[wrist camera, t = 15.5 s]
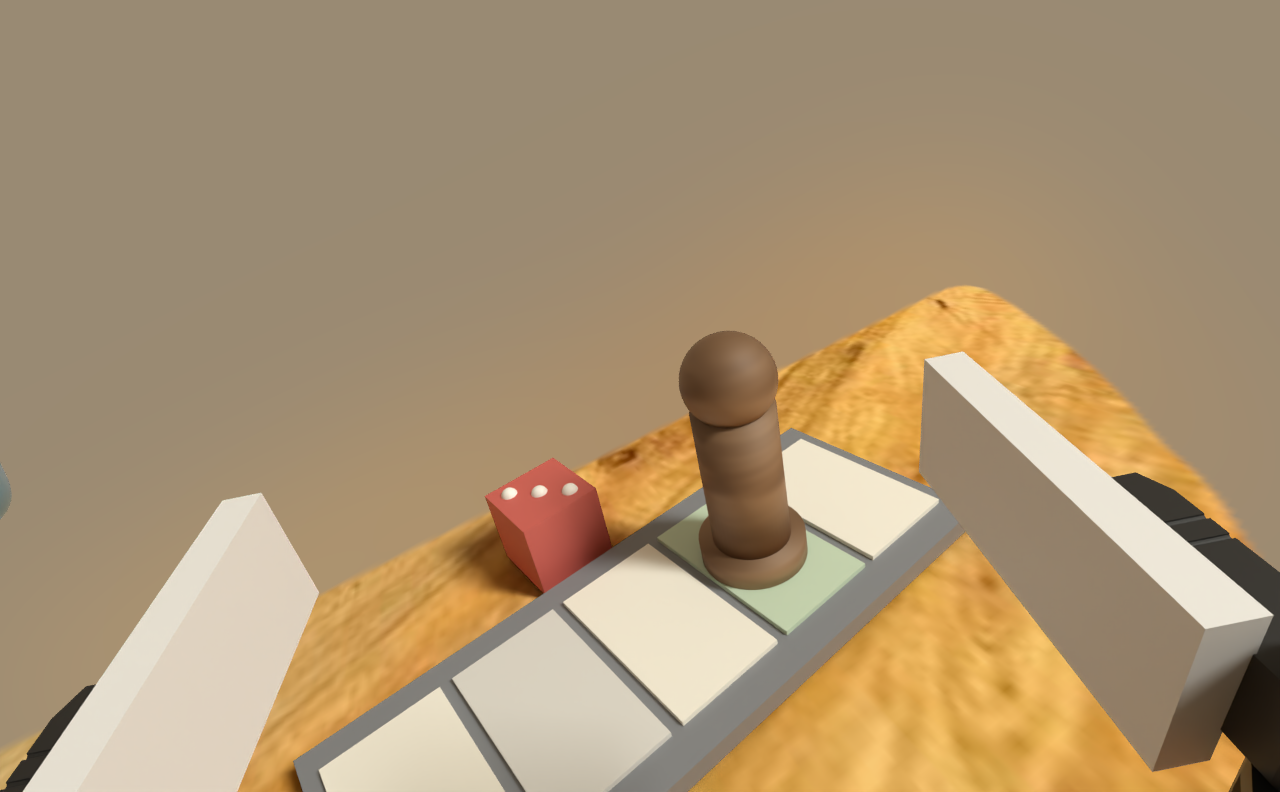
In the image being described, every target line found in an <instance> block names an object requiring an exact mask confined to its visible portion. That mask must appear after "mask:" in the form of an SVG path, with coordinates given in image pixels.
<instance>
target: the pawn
mask: <svg viewBox="0 0 1280 792" xmlns="http://www.w3.org/2000/svg"><path fill="white" fill-rule="evenodd" d="M777 388H778V373H777V367H776V364H775V361H774V360H773V358H772V356H771V354H770V352H769V351H768V350H767V349H766V347H765V346H764V345H763V344H762V343H761V342H759V341H758V340H756V339H755V338H753V337H752V336H749V335H747V334H745V333H741V332H736V331H721V332H716V333H713V334H710V335H708V336H706V337H704V338H702V339H701V340H699V341H698V342H697V343H695V345H694V346H692V347H691V349H690V350H689V351H688V353H687V354H686V356H685V358H684V359H683V362H682V365H681V368H680V373H679V389H680V393H681V396H682V399H683V401H684V403H685V405H686V406H687V408H688V410H689V416H690V421H691V427H692V432H693V437H694V442H695V448H696V453H697V458H698V463H699V469H700V474H701V479H702V484H703V490H704V495H705V500H706V505H707V511H708V517H707V518H706V519H705V520H704V522H703V523H702V525H701V527H700V530H699V544H700V549H701V554H702V559H703V563H704V566H705V568H706V569H707V571H708V572H709V573H710V575H711V576H712V577H714V578H715V579H716V580H718V581H719V582H721V583H723V584H725V585H727V586H730V587H733V588H738V589H744V590H759V589H766V588H770V587H774V586H777V585H779V584H782V583H784V582H786V581H787V580H789V579H790V578H792V577H793V576H795V575H796V574H797V573H798V572H799V571H800V569H801V568H802V567H803V565H804V563H805V561H806V558H807V554H808V546H807V537H806V528H805V524H804V521H803V519H802V518H801V516H800V515H799V514H798V513H797V512H796V511H795V510H794V509H793V508H791V507H790V506H788V500H787V492H786V483H785V474H784V466H783V457H782V448H781V439H780V431H779V422H778V413H777V405H776V400H775V396H776V392H777Z"/></svg>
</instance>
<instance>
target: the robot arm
mask: <svg viewBox="0 0 1280 792" xmlns="http://www.w3.org/2000/svg"><path fill="white" fill-rule="evenodd" d="M919 472H920V473H921V475H922V476H923V477H924V479H925V480H926V481H927V482H928V484H929V485H930V486H931V488H932V489H933V490H934V491H935V493H936V494H937V495H938V497H939V498H940V499H941V500H942V502H943V503H944V504H945V506H946V507H947V508H948V509H949V511H950V512H951V513H952V515H953V516H954V517H955V518H956V520H957V521H958V522H959V524H960V525H961V526H962V528H963V529H964V530H965V531H966V533H967V534H968V535H969V537H970V538H971V539H972V540H973V542H974V543H975V544H976V546H977V547H978V548H979V549H980V551H981V552H982V553H983V555H984V556H985V557H986V558H987V560H988V561H989V562H990V564H991V565H992V566H993V567H994V569H995V570H996V571H997V573H998V574H999V575H1000V576H1001V578H1002V579H1003V580H1004V582H1005V583H1006V584H1007V585H1008V587H1009V588H1010V589H1011V591H1012V592H1013V593H1014V594H1015V596H1016V597H1017V598H1018V600H1019V601H1020V602H1021V603H1022V605H1023V606H1024V607H1025V609H1026V610H1027V611H1028V612H1029V614H1030V615H1031V616H1032V618H1033V619H1034V620H1035V621H1036V623H1037V624H1038V625H1039V627H1040V628H1041V629H1042V630H1043V632H1044V633H1045V634H1046V636H1047V637H1048V638H1049V639H1050V641H1051V642H1052V643H1053V645H1054V646H1055V647H1056V648H1057V650H1058V651H1059V652H1060V654H1061V655H1062V656H1063V657H1064V659H1065V660H1066V661H1067V663H1068V664H1069V665H1070V666H1071V668H1072V669H1073V670H1074V672H1075V673H1076V674H1077V675H1078V677H1079V678H1080V679H1081V681H1082V682H1083V683H1084V684H1085V686H1086V687H1087V688H1088V690H1089V691H1090V692H1091V693H1092V695H1093V696H1094V697H1095V699H1096V700H1097V701H1098V702H1099V704H1100V705H1101V706H1102V708H1103V709H1104V710H1105V711H1106V713H1107V714H1108V715H1109V717H1110V718H1111V719H1112V720H1113V722H1114V723H1115V724H1116V726H1117V727H1118V728H1119V730H1120V731H1121V732H1122V733H1123V735H1124V736H1125V737H1126V739H1127V740H1128V741H1129V742H1130V744H1131V745H1132V746H1133V748H1134V749H1135V750H1136V751H1137V753H1138V754H1139V755H1140V757H1141V758H1142V759H1143V760H1144V762H1145V763H1146V764H1147V766H1148V767H1149V768H1150V769H1151V771H1152V772H1154V771H1159V770H1164V769H1169V768H1174V767H1179V766H1183V765H1188V764H1193V763H1198V762H1203V761H1208V760H1210V759H1211V756H1212V754H1213V752H1214V750H1215V747H1216V745H1217V743H1218V740H1219V738H1220V736H1221V734H1222V732H1223V733H1224V734H1225V735H1226V736H1227V737H1228V738H1229V739H1230V740H1231V741H1232V743H1233V744H1234V745H1235V746H1236V747H1237V748H1238V749H1239V750H1240V751H1241V752H1242V753H1243V755H1244V756H1245V759H1244V761H1243V763H1242V765H1241V767H1240V769H1239V772H1238V774H1237V776H1236V778H1235V780H1234V782H1233V784H1232V786H1231V788H1230V790H1229V792H1280V572H1278V571H1277V570H1276V569H1275V568H1273V567H1272V566H1271V565H1269V564H1268V563H1267V562H1266V561H1264V560H1263V559H1262V558H1261V557H1259V556H1258V555H1257V554H1255V553H1254V552H1253V551H1252V550H1250V549H1249V548H1248V547H1246V546H1245V545H1244V544H1243V543H1241V542H1240V541H1239V540H1238V539H1236V538H1233V539H1232V538H1231V537H1230V536H1229V532H1227V531H1226V530H1225V529H1223V528H1222V527H1221V526H1220V525H1218V524H1217V523H1216V522H1215V521H1213V520H1212V519H1211V518H1209V519H1206V518H1205V516H1204V513H1203V512H1202V511H1200V510H1199V509H1198V508H1197V507H1195V506H1194V505H1193V504H1192V503H1190V502H1189V501H1188V500H1186V499H1185V498H1184V497H1183V496H1181V495H1180V494H1179V493H1177V492H1176V491H1175V490H1173V489H1171V488H1169V487H1167V486H1164V485H1162V484H1160V483H1158V482H1156V481H1153V480H1151V479H1149V478H1147V477H1145V476H1142V475H1140V474H1138V473H1131V474H1126V475H1121V476H1116V477H1110V476H1109V475H1108V474H1107V473H1105V472H1104V471H1103V470H1102V469H1101V468H1100V467H1098V466H1097V465H1096V464H1095V463H1094V462H1093V461H1091V460H1090V459H1089V458H1088V457H1087V456H1085V455H1084V454H1083V453H1082V452H1081V451H1080V450H1078V449H1077V448H1076V447H1075V446H1074V445H1073V444H1071V443H1070V442H1069V441H1068V440H1067V439H1065V438H1064V437H1063V436H1062V435H1061V434H1060V433H1058V432H1057V431H1056V430H1055V429H1054V428H1052V427H1051V426H1050V425H1049V424H1048V423H1047V422H1045V421H1044V420H1043V419H1042V418H1041V417H1040V416H1038V415H1037V414H1036V413H1035V412H1034V411H1032V410H1031V409H1030V408H1029V407H1028V406H1027V405H1025V404H1024V403H1023V402H1022V401H1021V400H1019V399H1018V398H1017V397H1016V396H1015V395H1014V394H1012V393H1011V392H1010V391H1009V390H1008V389H1007V388H1005V387H1004V386H1003V385H1002V384H1001V383H999V382H998V381H997V380H996V379H995V378H994V377H992V376H991V375H990V374H989V373H988V372H986V371H985V370H984V369H983V368H982V367H981V366H979V365H978V364H977V363H976V362H975V361H974V360H972V359H971V358H970V357H969V356H968V355H966V354H965V353H964V352H959V353H954V354H949V355H944V356H939V357H934V358H929V359H925V361H924V382H923V402H922V423H921V443H920V464H919ZM10 502H11V488H10V484H9V481H8V479H7V477H6V474H5V472H4V470H3V468H2V466H1V464H0V519H1V518H2V517H3V516H4V514H5V513H6V511H7V510H8V507H9V505H10ZM318 594H319V592H318V590H317V588H316V586H315V585H314V583H313V581H312V579H311V578H310V576H309V574H308V573H307V571H306V569H305V568H304V566H303V564H302V562H301V560H300V559H299V557H298V555H297V554H296V552H295V550H294V549H293V547H292V545H291V543H290V542H289V540H288V538H287V536H286V535H285V533H284V531H283V530H282V528H281V526H280V524H279V523H278V521H277V519H276V517H275V516H274V514H273V512H272V510H271V509H270V507H269V505H268V504H267V502H266V500H265V498H264V497H263V495H262V493H258V494H253V495H248V496H243V497H238V498H234V499H228V500H223V501H222V502H221V503H220V505H219V506H218V508H217V509H216V511H215V512H214V514H213V515H212V517H211V518H210V520H209V521H208V522H207V524H206V525H205V527H204V528H203V530H202V531H201V533H200V534H199V536H198V537H197V538H196V540H195V541H194V543H193V544H192V546H191V547H190V549H189V550H188V552H187V553H186V554H185V556H184V557H183V559H182V560H181V562H180V563H179V565H178V566H177V568H176V569H175V571H174V572H173V573H172V575H171V576H170V578H169V579H168V581H167V582H166V584H165V585H164V587H163V588H162V590H161V591H160V592H159V594H158V595H157V597H156V598H155V600H154V601H153V603H152V604H151V606H150V607H149V608H148V610H147V611H146V613H145V614H144V616H143V617H142V619H141V620H140V621H139V623H138V624H137V626H136V627H135V629H134V630H133V632H132V633H131V635H130V636H129V638H128V639H127V640H126V642H125V644H124V645H123V646H122V648H121V649H120V651H119V652H118V654H117V655H116V657H115V658H114V660H113V661H112V662H111V664H110V665H109V667H108V668H107V670H106V671H105V672H104V674H103V675H102V677H101V678H100V680H99V681H98V683H97V684H96V685H91V686H86V687H85V688H84V689H83V690H82V691H81V692H80V693H78V695H76V696H75V697H74V698H73V699H72V700H71V701H70V702H69V703H68V704H67V705H66V706H65V707H64V708H63V709H62V710H60V711H59V712H58V713H57V714H56V715H55V716H54V717H53V718H52V719H51V720H50V722H49V723H48V725H47V726H46V727H45V729H44V730H43V732H42V733H41V734H40V736H39V737H38V739H37V740H36V741H35V743H34V744H33V746H32V747H31V748H30V750H29V751H28V753H27V759H26V760H22V761H21V762H20V764H19V765H18V766H17V768H16V769H15V771H14V772H13V773H12V775H11V776H10V778H9V779H8V780H7V782H6V784H7V787H6V789H4V790H0V792H237V791H238V788H239V786H240V783H241V781H242V779H243V776H244V774H245V771H246V769H247V766H248V764H249V762H250V759H251V757H252V754H253V752H254V749H255V747H256V745H257V742H258V740H259V737H260V735H261V733H262V730H263V728H264V725H265V723H266V720H267V718H268V716H269V713H270V711H271V708H272V706H273V703H274V701H275V699H276V696H277V694H278V691H279V689H280V686H281V684H282V682H283V679H284V677H285V674H286V672H287V669H288V667H289V665H290V662H291V660H292V657H293V655H294V652H295V650H296V648H297V645H298V643H299V640H300V638H301V636H302V633H303V631H304V628H305V626H306V623H307V621H308V619H309V616H310V614H311V611H312V609H313V606H314V604H315V602H316V599H317V597H318Z"/></svg>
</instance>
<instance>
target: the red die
mask: <svg viewBox="0 0 1280 792" xmlns="http://www.w3.org/2000/svg"><path fill="white" fill-rule="evenodd" d="M485 498H486V501H487V503H488V506H489V509H490V511H491V514H492V517H493V519H494V522H495V525H496V527H497V530H498V533H499V535H500V538H501V541H502V543H503V546H504V548H505V551H506V554H507V556H508V557H509V558H510V560H511V561H512V562H513V563H514V564H515V565H516V566H517V567H518V568H519V569H520V570H521V571H522V572H523V573H524V574H525V575H526V576H527V577H528V578H529V579H530V580H531V581H532V582H533V583H534V584H535V585H536V586H537V587H538V588H539V589H540V590H541V591H542V592H543V593H545V592H547V591H548V590H550V589H551V588H553V587H554V586H556V585H557V584H559V583H560V582H562V581H563V580H565V579H566V578H568V577H569V576H571V575H572V574H574V573H575V572H577V571H578V570H580V569H581V568H583V567H584V566H586V565H587V564H589V563H590V562H592V561H593V560H595V559H596V558H598V557H599V556H601V555H602V554H604V553H605V552H607V551H608V550H610V549H611V548H612V546H611V542H610V538H609V535H608V531H607V527H606V524H605V520H604V516H603V513H602V509H601V506H600V502H599V498H598V495H597V491H596V488H595V487H593V486H592V485H590V484H589V483H588V482H586V481H585V480H583V479H582V478H581V477H579V476H578V475H576V474H575V473H574V472H572V471H571V470H569V469H568V468H567V467H565V466H564V465H562V464H561V463H560V462H558V461H557V460H555V459H554V458H552V459H550V460H548V461H546V462H545V463H543V464H541V465H539V466H538V467H536V468H534V469H532V470H530V471H529V472H527V473H525V474H523V475H521V476H520V477H518V478H516V479H515V480H513V481H511V482H509V483H507V484H506V485H504V486H502V487H500V488H498V489H497V490H495V491H493V492H491V493H490V494H488V495H486V496H485Z"/></svg>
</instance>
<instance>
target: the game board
mask: <svg viewBox="0 0 1280 792" xmlns="http://www.w3.org/2000/svg"><path fill="white" fill-rule="evenodd" d="M780 439H781V448H782V457H783V466H784V474H785V483H786V492H787V500H788V506H790V507H791V508H793V509H794V510H795V511H796V512H797V513H798V514H799V515H800V516H801V518H802V519H803V521H804V524H805V528H806V537H807V546H808V554H807V558H806V561H805V563H804V565H803V567H802V568H801V569H800V571H799V572H798V573H797V574H796V575H795V576H793V577H792V578H790V579H789V580H787V581H786V582H784V583H782V584H779V585H777V586H774V587H770V588H766V589H759V590H744V589H738V588H733V587H730V586H727V585H725V584H723V583H721V582H719V581H718V580H716V579H715V578H714V577H712V576H711V575H710V573H709V572H708V571H707V569H706V568H705V566H704V563H703V559H702V554H701V549H700V544H699V530H700V527H701V525H702V523H703V522H704V520H705V519H706V518H707V517H708V511H707V505H706V500H705V495H704V490H703V487H702V488H701V489H699V490H698V491H696V492H695V493H693V494H692V495H690V496H689V497H687V498H686V499H684V500H683V501H681V502H680V503H678V504H677V505H675V506H674V507H672V508H671V509H669V510H668V511H666V512H665V513H663V514H662V515H660V516H659V517H657V518H656V519H654V520H653V521H651V522H650V523H649V524H647V525H646V526H644V527H643V528H641V529H640V530H638V531H637V532H635V533H634V534H632V535H631V536H629V537H628V538H626V539H625V540H623V541H622V542H620V543H619V544H617V545H616V546H614V547H613V548H611V549H610V550H608V551H607V552H605V553H604V554H602V555H601V556H599V557H598V558H596V559H595V560H593V561H592V562H590V563H589V564H587V565H586V566H584V567H583V568H581V569H580V570H578V571H577V572H575V573H574V574H572V575H571V576H569V577H568V578H566V579H565V580H563V581H562V582H560V583H559V584H557V585H556V586H554V587H553V588H551V589H550V590H548V591H547V592H545V593H544V594H542V595H541V596H539V597H538V598H536V599H535V600H533V601H532V602H530V603H529V604H527V605H526V606H524V607H523V608H521V609H520V610H518V611H517V612H515V613H514V614H512V615H511V616H509V617H508V618H506V619H505V620H504V621H502V622H501V623H499V624H498V625H496V626H495V627H493V628H492V629H490V630H489V631H487V632H486V633H484V634H483V635H481V636H480V637H478V638H477V639H475V640H474V641H472V642H471V643H469V644H468V645H466V646H465V647H463V648H462V649H460V650H459V651H457V652H456V653H454V654H453V655H451V656H450V657H448V658H447V659H445V660H444V661H442V662H441V663H439V664H438V665H436V666H435V667H433V668H432V669H430V670H429V671H427V672H426V673H424V674H423V675H421V676H420V677H418V678H417V679H415V680H414V681H412V682H411V683H409V684H408V685H406V686H405V687H403V688H402V689H400V690H399V691H397V692H396V693H394V694H393V695H391V696H390V697H388V698H387V699H385V700H384V701H382V702H381V703H379V704H378V705H376V706H375V707H373V708H372V709H370V710H369V711H367V712H366V713H364V714H363V715H362V716H360V717H359V718H357V719H356V720H354V721H353V722H351V723H350V724H348V725H347V726H345V727H344V728H342V729H341V730H339V731H338V732H336V733H335V734H333V735H332V736H330V737H329V738H327V739H326V740H324V741H323V742H321V743H320V744H318V745H317V746H315V747H314V748H312V749H311V750H309V751H308V752H306V753H305V754H303V755H302V756H300V757H299V758H297V759H296V760H294V761H293V762H294V765H295V768H296V771H297V775H298V778H299V781H300V784H301V787H302V790H303V792H688V791H689V790H690V789H691V788H692V787H693V786H694V785H695V784H696V783H697V782H698V781H699V780H701V779H702V778H703V777H704V776H705V775H706V774H707V773H708V772H709V771H710V770H711V769H712V768H713V767H714V766H715V765H717V764H718V763H719V762H720V761H721V760H722V759H723V758H724V757H725V756H726V755H727V754H728V753H729V752H730V751H731V750H733V749H734V748H735V747H736V746H737V745H738V744H739V743H740V742H741V741H742V740H743V739H744V738H745V737H746V736H747V735H749V734H750V733H751V732H752V731H753V730H754V729H755V728H756V727H757V726H758V725H759V724H760V723H761V722H762V721H764V720H765V719H766V718H767V717H768V716H769V715H770V714H771V713H772V712H773V711H774V710H775V709H776V708H777V707H778V706H780V705H781V704H782V703H783V702H784V701H785V700H786V699H787V698H788V697H789V696H790V695H791V694H792V693H793V692H794V691H796V690H797V689H798V688H799V687H800V686H801V685H802V684H803V683H804V682H805V681H806V680H807V679H808V678H809V677H810V676H812V675H813V674H814V673H815V672H816V671H817V670H818V669H819V668H820V667H821V666H822V665H823V664H824V663H825V662H826V661H828V660H829V659H830V658H831V657H832V656H833V655H834V654H835V653H836V652H837V651H838V650H839V649H840V648H841V647H843V646H844V645H845V644H846V643H847V642H848V641H849V640H850V639H851V638H852V637H853V636H854V635H855V634H856V633H857V632H859V631H860V630H861V629H862V628H863V627H864V626H865V625H866V624H867V623H868V622H869V621H870V620H871V619H872V618H873V617H875V616H876V615H877V614H878V613H879V612H880V611H881V610H882V609H883V608H884V607H885V606H886V605H887V604H888V603H889V602H891V601H892V600H893V599H894V598H895V597H896V596H897V595H898V594H899V593H900V592H901V591H902V590H903V589H904V588H906V587H907V586H908V585H909V584H910V583H911V582H912V581H913V580H914V579H915V578H916V577H917V576H918V575H919V574H920V573H922V572H923V571H924V570H925V569H926V568H927V567H928V566H929V565H930V564H931V563H932V562H933V561H934V560H935V559H936V558H938V557H939V556H940V555H941V554H942V553H943V552H944V551H945V550H946V549H947V548H948V547H949V546H950V545H951V544H952V543H954V542H955V541H956V540H957V539H958V538H959V537H960V536H961V535H962V534H963V533H964V532H965V530H964V529H963V528H962V526H961V525H960V524H959V522H958V521H957V520H956V518H955V517H954V516H953V515H952V513H951V512H950V511H949V509H948V508H947V507H946V506H945V504H944V503H943V502H942V500H941V499H940V498H939V497H938V495H937V494H936V493H935V491H934V490H933V489H932V488H930V487H927V486H925V485H923V484H920V483H918V482H916V481H913V480H911V479H909V478H906V477H904V476H902V475H899V474H897V473H895V472H892V471H890V470H888V469H885V468H883V467H881V466H878V465H876V464H874V463H871V462H869V461H867V460H864V459H862V458H860V457H857V456H855V455H853V454H851V453H848V452H846V451H844V450H841V449H839V448H837V447H834V446H832V445H830V444H827V443H825V442H823V441H820V440H818V439H816V438H813V437H811V436H809V435H806V434H804V433H802V432H799V431H797V430H795V429H792V428H791V429H789V430H788V431H786V432H785V433H783V434H782V435H780Z"/></svg>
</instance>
